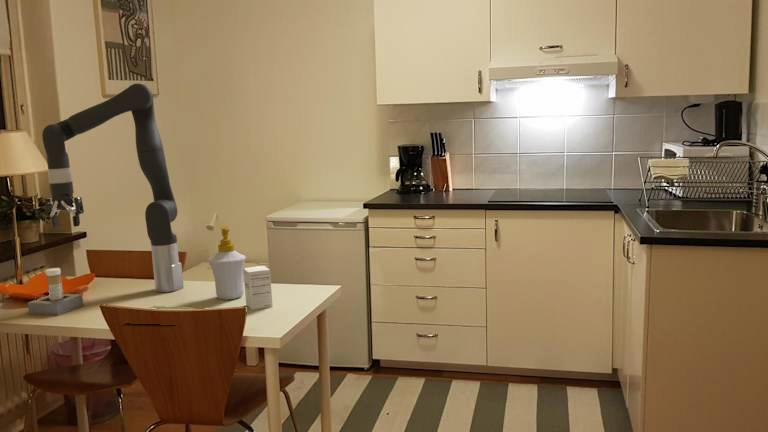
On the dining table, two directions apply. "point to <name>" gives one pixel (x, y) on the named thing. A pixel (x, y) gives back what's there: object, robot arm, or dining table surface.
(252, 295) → the supplement box
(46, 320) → the dining table surface
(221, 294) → the soap bottle
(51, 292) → the sprinkles bottle
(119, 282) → the dining table surface
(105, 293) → the dining table surface
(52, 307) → the shallow gray tray
